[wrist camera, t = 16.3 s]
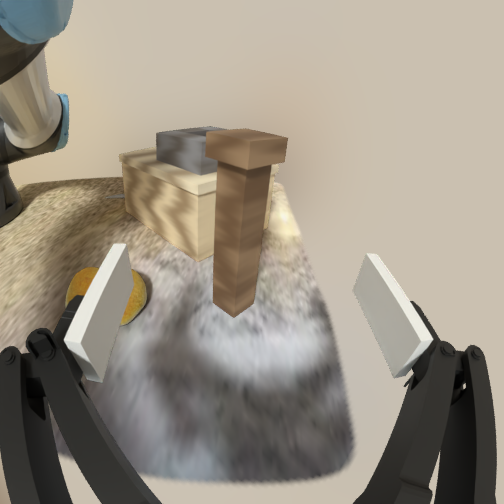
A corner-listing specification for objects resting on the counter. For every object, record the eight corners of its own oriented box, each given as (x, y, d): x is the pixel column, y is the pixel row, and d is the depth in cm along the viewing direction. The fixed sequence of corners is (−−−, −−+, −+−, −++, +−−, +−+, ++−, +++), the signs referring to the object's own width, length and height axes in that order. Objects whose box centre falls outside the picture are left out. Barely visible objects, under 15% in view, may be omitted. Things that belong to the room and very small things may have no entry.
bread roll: (148, 328, 25) (142, 298, 23) (66, 332, 22) (53, 303, 20) (148, 276, 31) (144, 247, 29) (79, 281, 29) (71, 253, 27)
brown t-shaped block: (203, 302, 29) (206, 131, 19) (232, 284, 32) (245, 128, 22) (234, 325, 26) (250, 141, 17) (262, 303, 29) (287, 137, 20)
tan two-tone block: (123, 211, 45) (118, 130, 37) (188, 190, 54) (190, 120, 47) (197, 264, 34) (198, 148, 26) (270, 228, 44) (282, 138, 36)
